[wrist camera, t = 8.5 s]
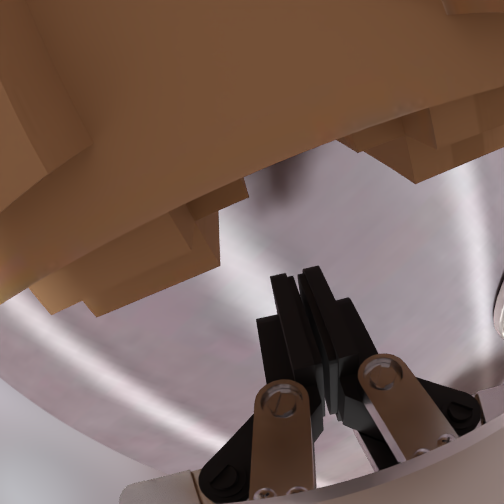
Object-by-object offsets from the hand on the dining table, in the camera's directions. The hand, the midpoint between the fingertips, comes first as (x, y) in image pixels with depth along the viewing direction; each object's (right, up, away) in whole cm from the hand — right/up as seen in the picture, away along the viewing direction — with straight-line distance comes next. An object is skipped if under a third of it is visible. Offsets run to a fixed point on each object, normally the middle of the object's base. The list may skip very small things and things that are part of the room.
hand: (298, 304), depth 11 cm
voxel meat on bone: (-3, +10, -2) cm, 10 cm away
